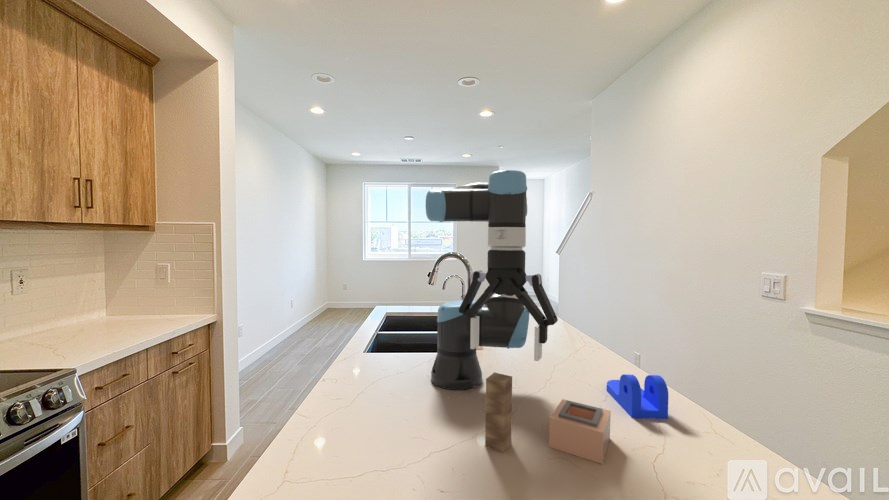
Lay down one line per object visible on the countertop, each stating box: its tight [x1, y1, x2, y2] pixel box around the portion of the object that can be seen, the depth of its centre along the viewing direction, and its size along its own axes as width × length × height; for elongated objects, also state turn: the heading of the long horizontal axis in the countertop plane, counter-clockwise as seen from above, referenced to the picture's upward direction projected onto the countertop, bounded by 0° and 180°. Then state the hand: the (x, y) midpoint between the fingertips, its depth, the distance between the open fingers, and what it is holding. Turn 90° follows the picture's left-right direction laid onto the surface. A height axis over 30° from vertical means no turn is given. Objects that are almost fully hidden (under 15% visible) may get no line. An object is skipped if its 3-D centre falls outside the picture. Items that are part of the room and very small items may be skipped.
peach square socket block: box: [548, 398, 612, 465], centre depth 74 cm, size 10×10×7 cm
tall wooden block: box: [484, 371, 513, 454], centre depth 73 cm, size 4×4×14 cm
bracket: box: [606, 374, 669, 420], centre depth 93 cm, size 18×8×9 cm, turn 177°
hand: (504, 353), depth 73 cm, fingers open, 13 cm apart
